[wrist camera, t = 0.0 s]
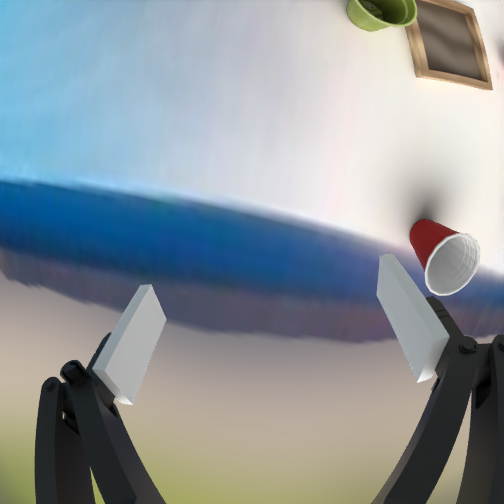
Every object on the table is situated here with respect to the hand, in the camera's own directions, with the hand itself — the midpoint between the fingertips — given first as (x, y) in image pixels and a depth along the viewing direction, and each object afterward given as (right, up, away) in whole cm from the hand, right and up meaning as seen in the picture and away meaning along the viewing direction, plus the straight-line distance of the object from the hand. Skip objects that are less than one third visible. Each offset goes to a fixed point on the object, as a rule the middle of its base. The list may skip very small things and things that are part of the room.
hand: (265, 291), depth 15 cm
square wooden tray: (+32, +38, +10) cm, 51 cm away
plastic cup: (+30, +6, +28) cm, 41 cm away
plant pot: (+16, +38, +11) cm, 43 cm away
